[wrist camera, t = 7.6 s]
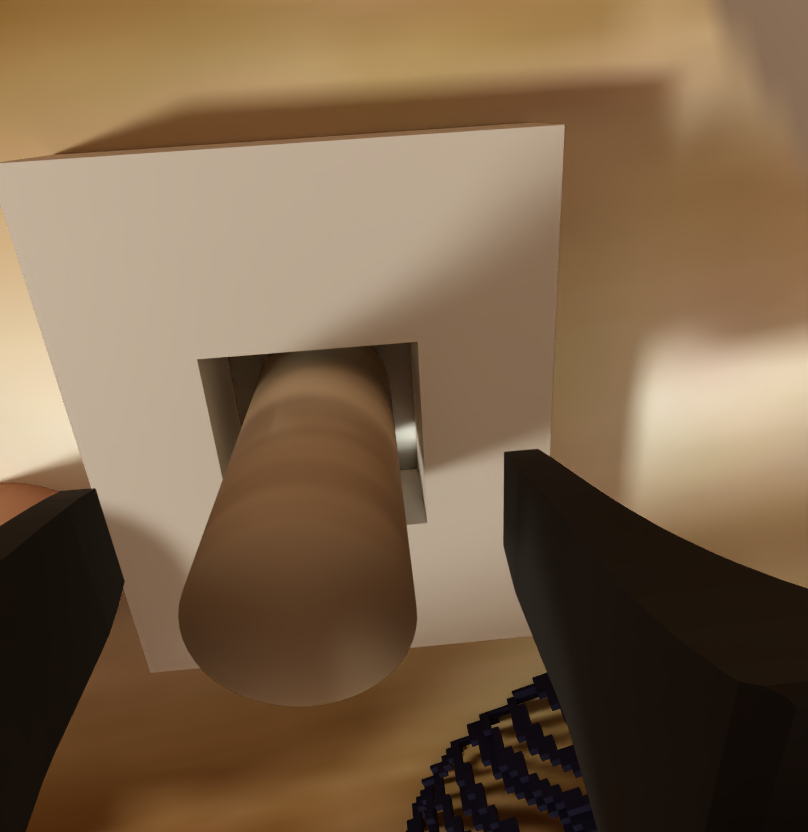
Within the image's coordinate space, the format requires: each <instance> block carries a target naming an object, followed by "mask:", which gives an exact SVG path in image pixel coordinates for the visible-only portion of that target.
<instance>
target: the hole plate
mask: <svg viewBox="0 0 808 832" xmlns="http://www.w3.org/2000/svg"><path fill="white" fill-rule="evenodd" d="M564 128H565V125H562V124H545V123H516V124H501V125H487V126H472V127H457V128H442V129H428V130H413V131H398V132H384V133H369V134H354V135H340V136H325V137H310V138H295V139H281V140H266V141H251V142H237V143H222V144H207V145H193V146H178V147H163V148H148V149H134V150H119V151H104V152H90V153H75V154H60V155H48V156H41V157H34V158H27V159H20V160H13V161H6V162H0V205H1V208H2V211H3V214H4V217H5V220H6V224H7V227H8V230H9V233H10V236H11V239H12V242H13V245H14V249H15V252H16V255H17V258H18V261H19V264H20V267H21V270H22V274H23V277H24V280H25V283H26V286H27V289H28V292H29V295H30V299H31V302H32V305H33V308H34V311H35V314H36V317H37V321H38V324H39V327H40V330H41V333H42V336H43V339H44V342H45V346H46V349H47V352H48V355H49V358H50V361H51V364H52V367H53V371H54V374H55V377H56V380H57V383H58V386H59V389H60V392H61V396H62V399H63V402H64V405H65V408H66V411H67V414H68V418H69V421H70V424H71V427H72V430H73V433H74V436H75V439H76V443H77V446H78V449H79V452H80V455H81V458H82V461H83V464H84V468H85V471H86V474H87V477H88V480H89V483H90V486H91V489H92V488H96V491H97V494H98V498H99V501H100V504H101V507H102V510H103V513H104V517H105V520H106V523H107V526H108V529H109V533H110V536H111V539H112V542H113V545H114V549H115V552H116V555H117V558H118V561H119V564H120V568H121V571H122V574H123V577H124V580H125V582H124V586H123V590H124V593H125V596H126V599H127V602H128V605H129V608H130V612H131V615H132V618H133V621H134V624H135V627H136V630H137V633H138V637H139V640H140V643H141V646H142V649H143V652H144V655H145V658H146V662H147V665H148V668H149V671H150V673H157V672H168V671H178V670H188V669H199V668H200V667H199V666H198V665H197V664H196V662H195V661H194V660H193V658H192V657H191V655H190V654H189V652H188V651H187V648H186V646H185V644H184V642H183V640H182V636H181V633H180V629H179V620H178V610H179V602H180V598H181V594H182V591H183V588H184V585H185V582H186V580H187V577H188V574H189V571H190V569H191V566H192V563H193V560H194V558H195V555H196V552H197V549H198V547H199V544H200V541H201V538H202V535H203V533H204V530H205V527H206V524H207V522H208V519H209V516H210V513H211V511H212V508H213V505H214V502H215V500H216V497H217V494H218V491H219V489H220V486H221V483H222V480H223V477H224V475H225V472H226V469H227V466H228V464H229V461H230V458H231V455H232V453H233V450H234V447H235V444H236V442H237V439H238V436H239V433H240V431H241V425H240V419H239V414H238V409H237V404H236V398H235V393H234V388H233V383H232V377H231V372H230V367H229V362H228V357H233V356H245V355H258V354H270V353H283V352H295V351H308V350H320V349H333V348H345V347H358V346H370V345H383V344H395V343H408V342H411V359H412V376H413V393H414V410H415V427H416V444H417V461H418V469H406V470H400V475H401V483H402V491H403V500H404V508H405V516H406V524H407V532H408V540H409V549H410V557H411V565H412V573H413V581H414V589H415V598H416V606H417V625H416V632H415V635H414V639H413V642H412V644H411V646H410V648H415V647H426V646H436V645H446V644H457V643H467V642H477V641H488V640H498V639H508V638H518V637H529V636H532V633H531V631H530V629H529V626H528V623H527V621H526V618H525V616H524V613H523V611H522V608H521V606H520V603H519V601H518V598H517V596H516V593H515V590H514V586H513V582H512V578H511V575H510V571H509V567H508V563H507V559H506V555H505V551H504V546H503V509H504V452H506V451H518V450H529V449H539V450H541V451H542V452H544V453H545V454H547V455H549V456H550V444H551V421H552V399H553V376H554V353H555V331H556V308H557V286H558V263H559V241H560V218H561V196H562V173H563V151H564Z"/></svg>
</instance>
